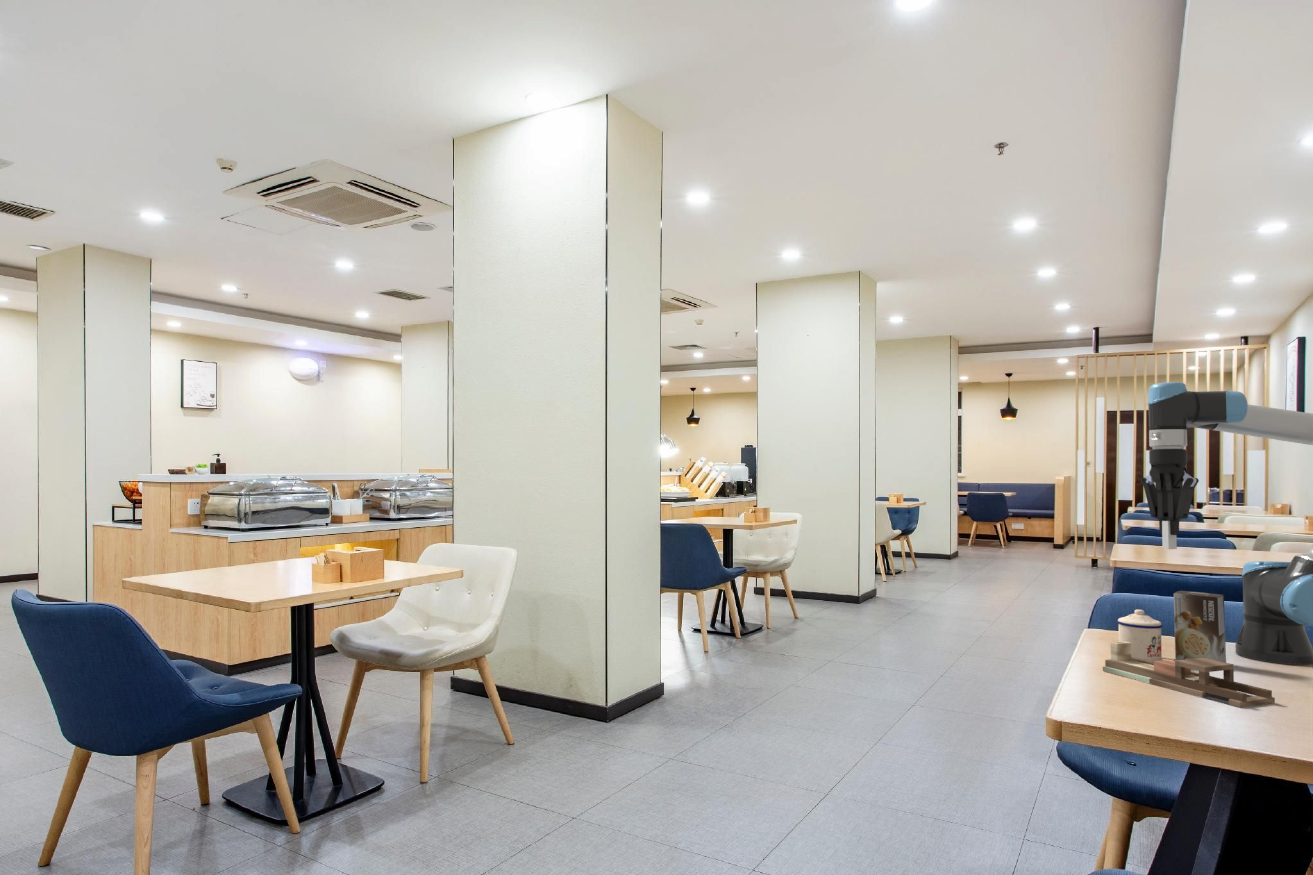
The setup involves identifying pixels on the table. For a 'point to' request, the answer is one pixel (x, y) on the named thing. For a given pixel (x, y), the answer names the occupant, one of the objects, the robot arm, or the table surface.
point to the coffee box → (1199, 626)
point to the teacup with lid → (1141, 635)
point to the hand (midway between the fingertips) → (1169, 548)
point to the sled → (1123, 655)
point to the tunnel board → (1204, 688)
